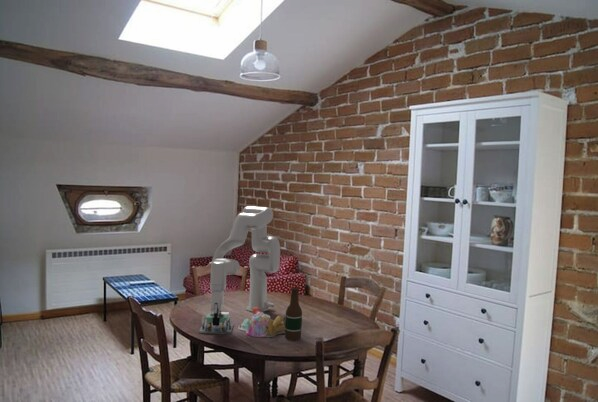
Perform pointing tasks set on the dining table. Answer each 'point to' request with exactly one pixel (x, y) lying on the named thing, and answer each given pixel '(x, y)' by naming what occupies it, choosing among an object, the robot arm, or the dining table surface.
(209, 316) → the board
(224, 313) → the white rectangular block
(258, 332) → the pastel sphere sculpture
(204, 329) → the chassis
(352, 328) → the dining table surface
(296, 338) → the beer bottle
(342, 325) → the dining table surface
